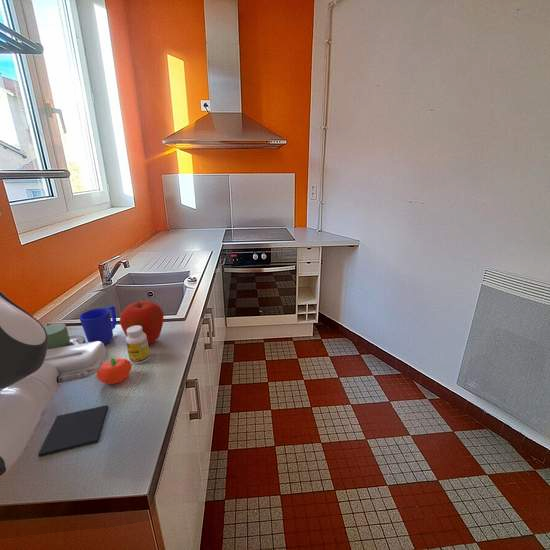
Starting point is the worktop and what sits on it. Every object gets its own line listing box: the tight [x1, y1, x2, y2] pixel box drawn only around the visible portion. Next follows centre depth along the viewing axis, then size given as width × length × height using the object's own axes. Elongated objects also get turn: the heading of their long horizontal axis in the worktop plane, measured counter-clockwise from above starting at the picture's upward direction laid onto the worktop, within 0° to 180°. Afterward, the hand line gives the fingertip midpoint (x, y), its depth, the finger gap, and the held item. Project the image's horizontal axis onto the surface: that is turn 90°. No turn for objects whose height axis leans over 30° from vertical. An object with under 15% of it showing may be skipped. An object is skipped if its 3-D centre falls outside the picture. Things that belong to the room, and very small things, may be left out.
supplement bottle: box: [125, 325, 151, 365], centre depth 85 cm, size 5×5×10 cm
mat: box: [37, 404, 109, 457], centre depth 63 cm, size 10×10×1 cm
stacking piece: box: [43, 322, 70, 349], centre depth 61 cm, size 5×5×9 cm
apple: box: [119, 300, 165, 345], centre depth 92 cm, size 12×12×14 cm
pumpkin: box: [95, 357, 133, 385], centre depth 77 cm, size 7×8×6 cm
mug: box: [78, 305, 117, 346], centre depth 96 cm, size 8×12×10 cm
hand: (56, 344), depth 62 cm, fingers closed on stacking piece, 5 cm apart
